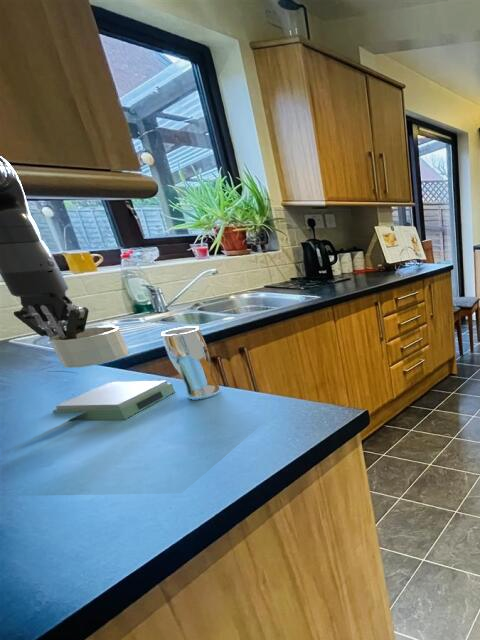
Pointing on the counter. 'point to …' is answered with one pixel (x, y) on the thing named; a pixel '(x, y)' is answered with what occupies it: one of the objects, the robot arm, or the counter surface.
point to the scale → (116, 400)
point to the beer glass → (191, 361)
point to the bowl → (91, 347)
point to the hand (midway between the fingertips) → (73, 354)
